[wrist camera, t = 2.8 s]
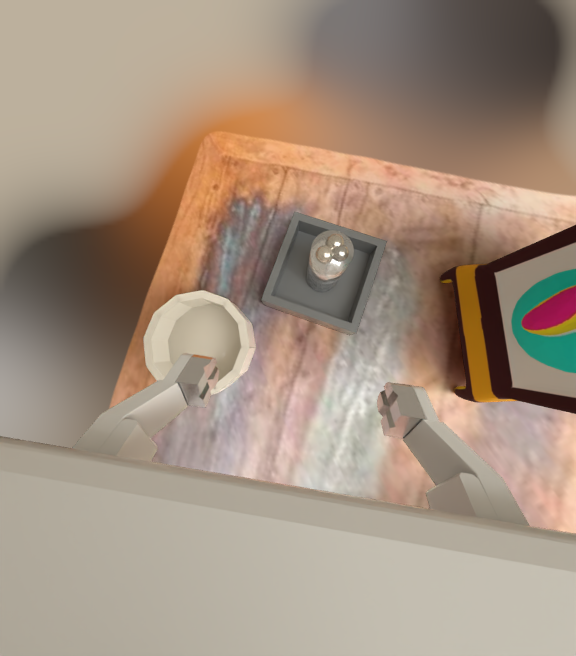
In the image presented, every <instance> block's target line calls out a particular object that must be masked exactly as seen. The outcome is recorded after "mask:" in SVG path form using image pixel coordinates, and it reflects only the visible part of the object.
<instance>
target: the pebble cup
mask: <svg viewBox="0 0 576 656" xmlns="http://www.w3.org/2000/svg"><path fill="white" fill-rule="evenodd" d="M353 254H354V248H353V244H352V242H351V240H350V239H349V237H348V236H347V235H345V234H344V233H342V232H339V231H335V230H329V231H325V232H323V233H321V234H319V235H318V236H317V237H316V238H315V239H314V241H313V243H312V246H311V251H310V257H309V263H308V268H307V274H306V280H307V283H308V285H309V286H310V287H311V288H312V289H313V290H315V291H318V292H327V291H329V290H331V289H332V288H333V287H334V286H335V285H336V283H337V282H338V280H339V279H340V277H341V276H342V274H343V273H344V271H345V269H346V268H347V266H348V265H349V263H350V262H351V260H352V258H353Z"/></svg>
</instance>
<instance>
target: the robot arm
mask: <svg viewBox="0 0 576 656" xmlns="http://www.w3.org/2000/svg"><path fill="white" fill-rule="evenodd" d="M216 363H217V361H216V358H213V357H207V356H201V355H195V354H189V353H183V354H182V355H180V357H179V358H178V360H177V361H176V362H175V364H174V365H173V367H172V368H171V369H170V371H169V372H168V374H167V375H166V376H165V378H164V379H163V380H159V381H157V382H155V383H153V384H152V385H150V386H148V387H147V388H145V389H143V390H141V391H140V392H138V393H136V394H134V395H133V396H131V397H129V398H128V399H126V400H124V401H122V402H121V403H119V404H117V405H115V406H114V407H112V408H110V409H109V410H107V411H105V412H103V413H102V414H101V415H100V416H99V417H98V418H97V419H96V421H95V422H94V423H93V424H92V425H91V426H90V428H89V429H88V430H87V431H86V432H85V433H84V435H83V436H82V437H81V438H80V439H79V440H78V441H77V443H76V444H75V445H74V446H73V447H72V448H67V447H61V446H55V445H49V444H43V443H37V442H31V441H25V440H20V439H13V438H8V437H2V436H0V656H576V534H575V533H569V532H563V531H557V530H551V529H545V528H540V527H534V526H530V525H529V524H528V522H527V520H526V518H525V517H524V515H523V513H522V511H521V510H520V508H519V506H518V504H517V502H516V501H515V499H514V497H513V495H512V494H511V492H510V490H509V488H508V487H507V485H506V483H505V481H504V480H503V478H502V477H501V476H500V475H499V474H498V473H497V472H496V471H495V470H493V469H492V468H491V467H490V466H489V465H488V464H487V463H486V462H485V461H484V460H483V459H482V458H481V457H480V456H479V455H477V454H476V453H475V452H474V451H473V450H472V449H471V448H470V447H469V446H468V445H467V444H466V443H465V442H464V441H463V440H461V439H460V438H459V437H458V436H457V435H456V434H455V433H454V432H453V431H452V430H451V429H450V428H449V427H448V426H447V425H445V424H444V423H443V422H440V421H439V419H438V417H437V415H436V413H435V410H434V408H433V406H432V404H431V402H430V399H429V397H428V395H427V393H426V391H425V389H424V388H423V387H419V386H412V385H406V384H398V383H391V382H388V383H386V384H385V386H384V389H385V390H384V391H382V392H380V394H379V396H378V400H377V407H378V411H379V413H380V414H381V415H382V416H383V418H382V420H381V424H382V429H383V433H384V435H385V436H390V437H396V438H401V439H403V441H404V442H405V443H406V445H407V446H408V447H409V449H410V450H411V452H412V453H413V454H414V456H415V457H416V458H417V460H418V461H419V462H420V464H421V465H422V467H423V468H424V469H425V471H426V472H427V473H428V475H429V476H430V478H431V479H432V480H433V482H434V483H435V484H436V486H435V487H433V488H431V489H430V490H428V491H427V492H426V496H427V499H428V502H429V506H430V509H427V508H421V507H416V506H410V505H404V504H398V503H392V502H386V501H380V500H374V499H368V498H362V497H357V496H351V495H345V494H339V493H333V492H327V491H321V490H315V489H309V488H303V487H297V486H292V485H286V484H280V483H274V482H268V481H262V480H256V479H250V478H244V477H238V476H233V475H227V474H221V473H215V472H209V471H203V470H197V469H191V468H185V467H179V466H173V465H168V464H162V463H156V462H151V460H152V459H153V457H154V455H155V453H156V451H157V449H158V448H157V445H156V444H155V443H154V442H153V440H152V439H151V438H152V437H153V436H154V435H155V434H156V433H158V432H159V431H160V430H161V429H162V428H163V427H165V426H166V425H167V424H168V423H169V422H171V421H172V420H173V419H174V418H175V417H176V416H178V415H179V414H180V413H181V412H182V411H183V410H185V409H186V408H187V407H188V406H196V407H204V408H206V406H207V404H208V402H209V399H210V397H211V392H210V391H211V390H212V389H213V388H215V386H216V384H217V382H218V378H219V370H218V368H217V367H216V366H215V365H216Z"/></svg>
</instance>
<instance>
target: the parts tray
mask: <svg viewBox="0 0 576 656" xmlns="http://www.w3.org/2000/svg"><path fill="white" fill-rule="evenodd" d="M329 230H335V231H339V232H342V233H344V234H345V235H347V236H348V237H349V239H350V240H351V242H352V244H353V248H354V254H353V258H352V260H351V262H350V263H349V265H348V266H347V268H346V269H345V271H344V273H343V274H342V276H341V277H340V279H339V280H338V282H337V283H336V285H335V286H334V287H333V288H332V289H331V290H329V291H327V292H318V291H315V290H313V289H312V288H311V287H310V286H309V285H308V283H307V280H306V274H307V268H308V263H309V257H310V251H311V246H312V243H313V241H314V239H315V238H316V237H317V236H318V235H319V234H321V233H323V232H325V231H329ZM386 243H387V241H385V240H382V239H379V238H375V237H372V236H369V235H366V234H363V233H360V232H357V231H354V230H351V229H347V228H344V227H341V226H338V225H335V224H332V223H329V222H326V221H323V220H319V219H316V218H313V217H310V216H307V215H304V214H301V213H298V212H294V215H293V217H292V220H291V222H290V225H289V228H288V230H287V233H286V236H285V238H284V241H283V243H282V246H281V249H280V251H279V254H278V257H277V259H276V262H275V265H274V267H273V270H272V272H271V275H270V278H269V280H268V283H267V286H266V288H265V291H264V294H263V296H262V299H261V300H262V302H263V303H264V305H265V306H268V307H271V308H274V309H276V310H279V311H282V312H285V313H288V314H291V315H294V316H296V317H299V318H302V319H305V320H308V321H311V322H313V323H316V324H319V325H322V326H325V327H328V328H330V329H333V330H336V331H339V332H342V333H345V334H347V335H352V334H355V333H357V330H358V327H359V324H360V321H361V318H362V315H363V312H364V309H365V306H366V303H367V300H368V297H369V294H370V291H371V288H372V285H373V282H374V279H375V276H376V273H377V270H378V267H379V264H380V261H381V258H382V255H383V252H384V249H385V246H386Z"/></svg>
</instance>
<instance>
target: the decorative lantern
mask: <svg viewBox="0 0 576 656" xmlns="http://www.w3.org/2000/svg"><path fill="white" fill-rule="evenodd" d="M440 281H441V282H442V283H451V282H452V283H453V287H454V295H455V302H456V309H457V317H458V324H459V331H460V339H461V346H462V353H463V361H464V368H465V376H466V386H458V387H456V388H455V389H454V392H455V394H456V395H457V396H459V397H461V398H463V399H466V400H469V401H473V402H501V401H522V402H526V403H530V404H535V405H539V406H544V407H548V408H552V409H557V410H561V411H566V412H570V413H575V414H576V225H574V226H572V227H570V228H568V229H565V230H563V231H561V232H559V233H556V234H554V235H552V236H550V237H547V238H545V239H543V240H540V241H538V242H536V243H534V244H531V245H529V246H527V247H525V248H522V249H520V250H518V251H516V252H513V253H511V254H509V255H507V256H504V257H502V258H500V259H497V260H495V261H493V262H491V263H488V264H475V265H461V266H457V267H454V268H452V269H450V270H448V271H446V272H445V273H443V274H442V275H441V277H440Z"/></svg>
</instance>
